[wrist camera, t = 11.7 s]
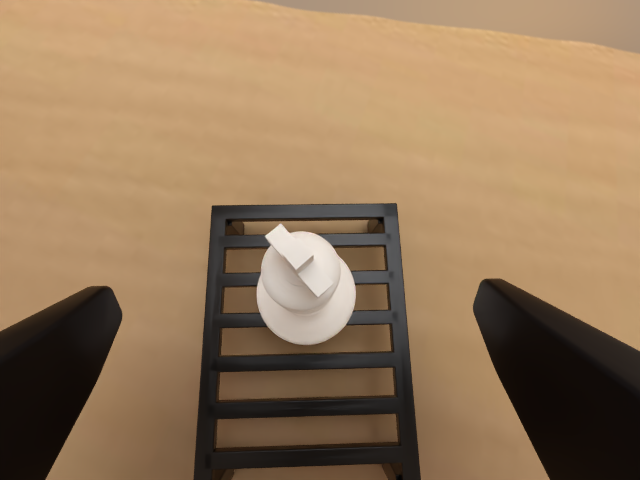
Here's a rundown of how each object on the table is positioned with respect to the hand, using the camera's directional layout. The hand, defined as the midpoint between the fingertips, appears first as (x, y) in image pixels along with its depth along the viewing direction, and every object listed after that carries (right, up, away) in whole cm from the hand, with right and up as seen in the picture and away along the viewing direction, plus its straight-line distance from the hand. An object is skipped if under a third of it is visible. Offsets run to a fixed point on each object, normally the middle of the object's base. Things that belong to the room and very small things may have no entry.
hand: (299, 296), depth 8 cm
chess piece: (0, -1, +8) cm, 8 cm away
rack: (0, -4, +11) cm, 12 cm away
